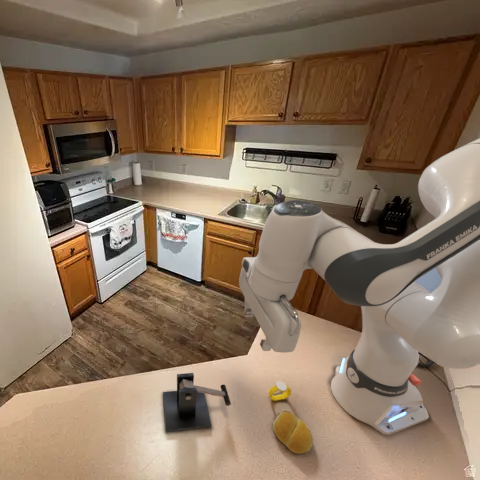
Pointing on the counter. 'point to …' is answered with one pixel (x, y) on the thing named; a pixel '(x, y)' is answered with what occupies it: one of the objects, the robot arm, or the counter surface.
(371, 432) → the counter surface
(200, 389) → the lever
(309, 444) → the bread roll
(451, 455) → the counter surface
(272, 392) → the watch
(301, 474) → the counter surface
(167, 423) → the bracket
